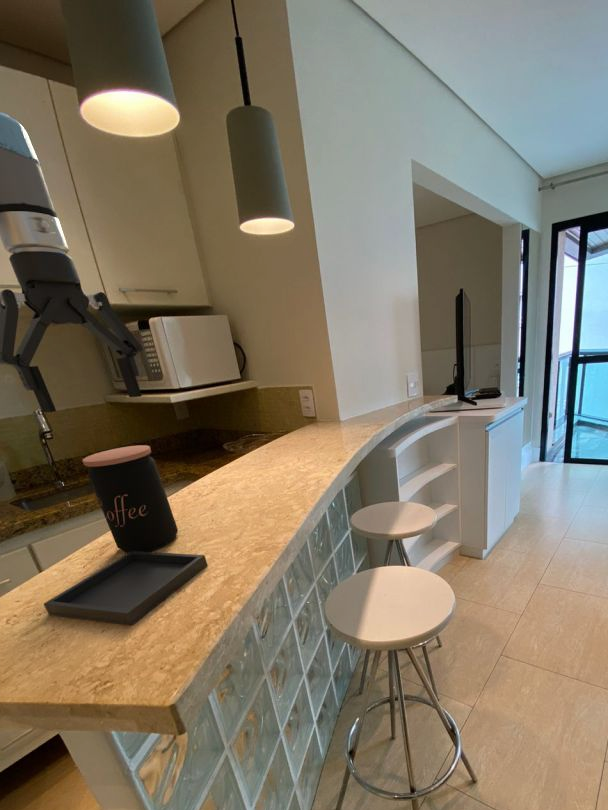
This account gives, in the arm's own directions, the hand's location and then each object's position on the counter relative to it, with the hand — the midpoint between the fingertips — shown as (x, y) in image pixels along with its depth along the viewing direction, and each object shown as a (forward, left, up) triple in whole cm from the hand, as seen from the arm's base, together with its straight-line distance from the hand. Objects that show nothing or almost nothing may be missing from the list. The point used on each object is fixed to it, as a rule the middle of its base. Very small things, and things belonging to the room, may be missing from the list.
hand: (96, 403), depth 67 cm
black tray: (+10, -13, -27) cm, 31 cm away
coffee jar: (-1, +1, -27) cm, 27 cm away
